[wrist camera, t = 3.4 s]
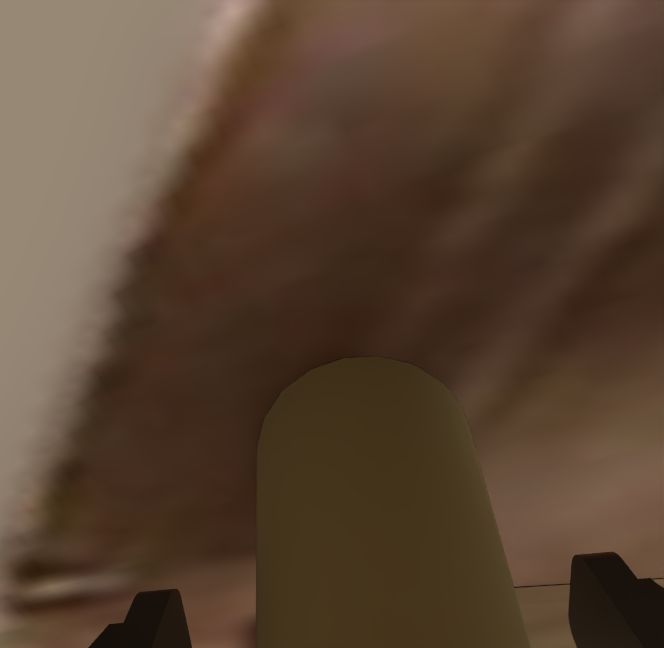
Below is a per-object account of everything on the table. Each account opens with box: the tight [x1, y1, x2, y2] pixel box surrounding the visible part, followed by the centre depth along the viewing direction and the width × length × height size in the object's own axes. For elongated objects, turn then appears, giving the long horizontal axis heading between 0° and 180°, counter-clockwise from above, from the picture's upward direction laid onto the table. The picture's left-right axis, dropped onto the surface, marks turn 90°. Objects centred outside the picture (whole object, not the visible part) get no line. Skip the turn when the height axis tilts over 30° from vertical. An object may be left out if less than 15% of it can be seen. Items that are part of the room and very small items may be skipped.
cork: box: [256, 356, 531, 648], centre depth 9 cm, size 6×6×11 cm
